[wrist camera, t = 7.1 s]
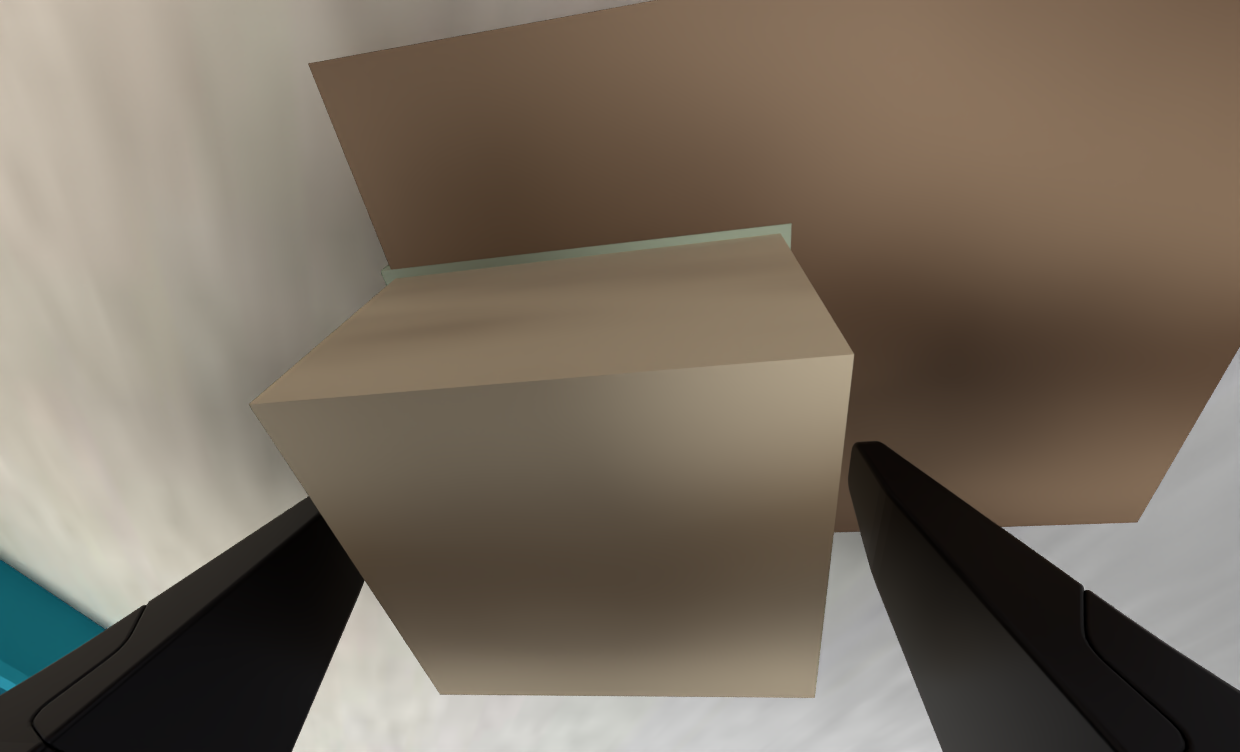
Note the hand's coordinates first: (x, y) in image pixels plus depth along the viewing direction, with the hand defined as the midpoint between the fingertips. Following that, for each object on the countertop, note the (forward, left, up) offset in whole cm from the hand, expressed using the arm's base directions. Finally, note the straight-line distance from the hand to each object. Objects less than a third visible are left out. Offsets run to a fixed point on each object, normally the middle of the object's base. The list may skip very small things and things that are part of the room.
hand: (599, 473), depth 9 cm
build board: (+1, -4, -3) cm, 5 cm away
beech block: (0, 0, -2) cm, 2 cm away
